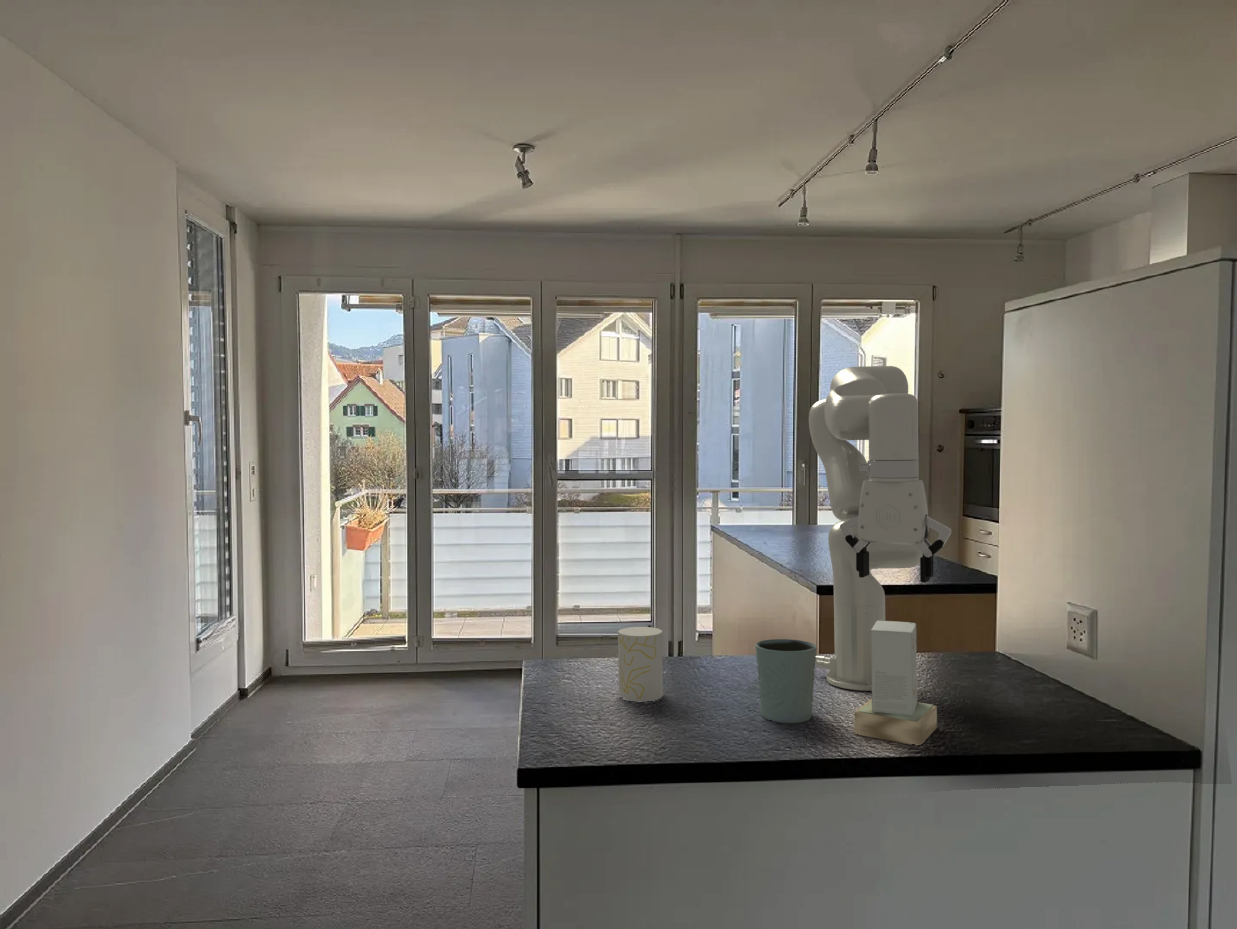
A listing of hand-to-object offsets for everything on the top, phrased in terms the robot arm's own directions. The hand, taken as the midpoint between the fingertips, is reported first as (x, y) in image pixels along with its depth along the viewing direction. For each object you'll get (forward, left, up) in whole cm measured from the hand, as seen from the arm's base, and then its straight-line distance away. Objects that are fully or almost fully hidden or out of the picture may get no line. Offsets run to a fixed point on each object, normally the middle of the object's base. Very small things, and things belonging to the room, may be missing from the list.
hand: (894, 578), depth 132 cm
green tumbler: (-18, -2, -24) cm, 30 cm away
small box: (0, 0, -21) cm, 21 cm away
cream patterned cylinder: (-45, -6, -24) cm, 51 cm away
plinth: (0, 0, -24) cm, 24 cm away
